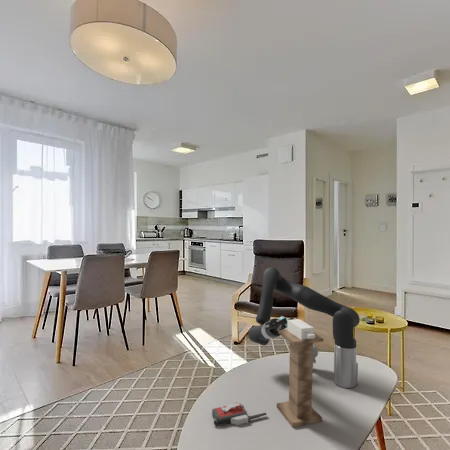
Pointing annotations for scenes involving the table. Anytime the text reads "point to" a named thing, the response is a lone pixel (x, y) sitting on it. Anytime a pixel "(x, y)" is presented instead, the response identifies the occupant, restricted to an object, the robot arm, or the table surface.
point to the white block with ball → (299, 328)
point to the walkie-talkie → (232, 415)
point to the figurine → (315, 353)
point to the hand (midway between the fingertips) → (289, 320)
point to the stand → (300, 382)
